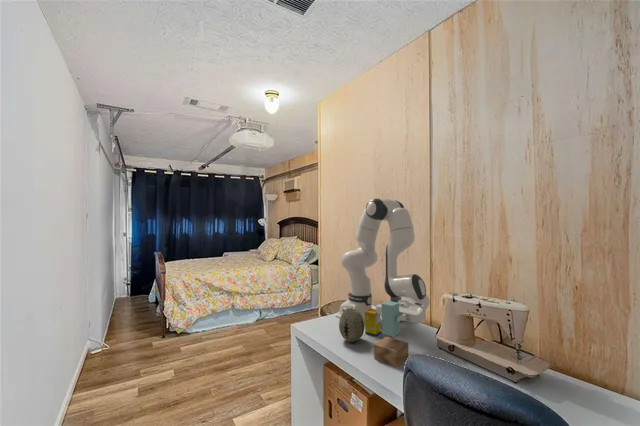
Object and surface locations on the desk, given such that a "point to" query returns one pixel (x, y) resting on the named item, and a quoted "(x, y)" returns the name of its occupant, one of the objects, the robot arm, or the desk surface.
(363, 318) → the robot arm
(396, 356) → the walnut block
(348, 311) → the decorative egg
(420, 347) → the desk surface
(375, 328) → the supplement box
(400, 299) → the small box
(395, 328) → the teal block
